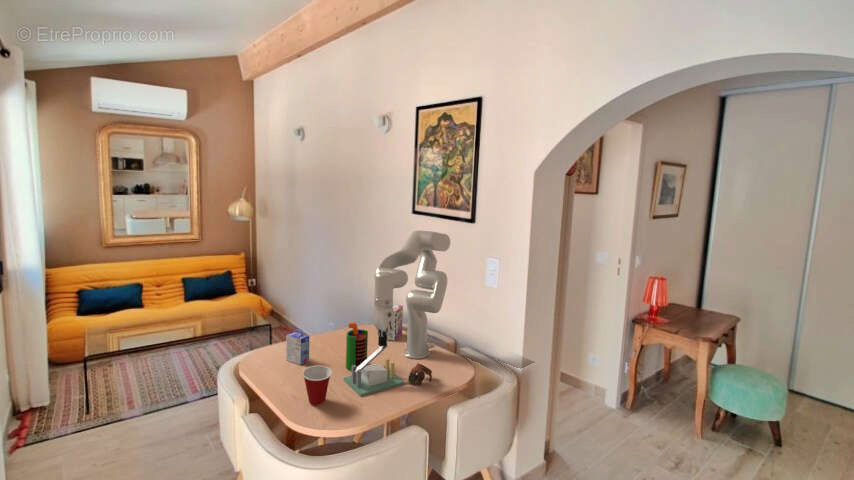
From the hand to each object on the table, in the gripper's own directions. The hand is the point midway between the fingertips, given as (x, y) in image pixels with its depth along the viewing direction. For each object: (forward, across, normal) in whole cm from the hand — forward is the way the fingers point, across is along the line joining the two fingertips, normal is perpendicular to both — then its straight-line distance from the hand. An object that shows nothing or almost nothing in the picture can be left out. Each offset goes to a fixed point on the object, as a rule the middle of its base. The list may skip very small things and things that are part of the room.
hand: (382, 345), depth 177 cm
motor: (+15, +17, +4) cm, 23 cm away
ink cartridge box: (+16, +36, +24) cm, 46 cm away
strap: (+5, 0, +5) cm, 7 cm away
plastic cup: (+16, -3, +29) cm, 33 cm away
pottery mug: (+16, -10, -13) cm, 22 cm away
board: (+15, 0, +4) cm, 16 cm away
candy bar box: (+15, +39, -30) cm, 51 cm away
